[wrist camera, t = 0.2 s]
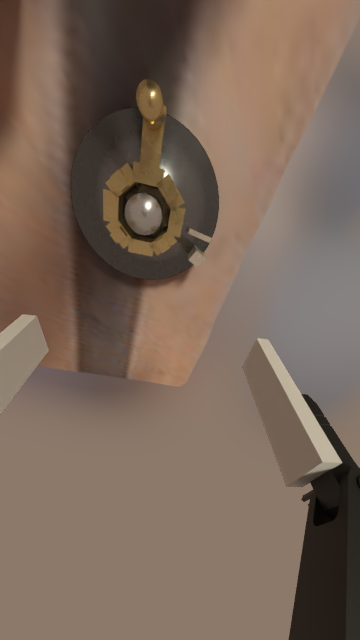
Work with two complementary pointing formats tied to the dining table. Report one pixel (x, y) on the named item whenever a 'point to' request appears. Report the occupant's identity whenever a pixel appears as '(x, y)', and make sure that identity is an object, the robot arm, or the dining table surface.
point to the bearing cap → (145, 194)
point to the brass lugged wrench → (145, 179)
